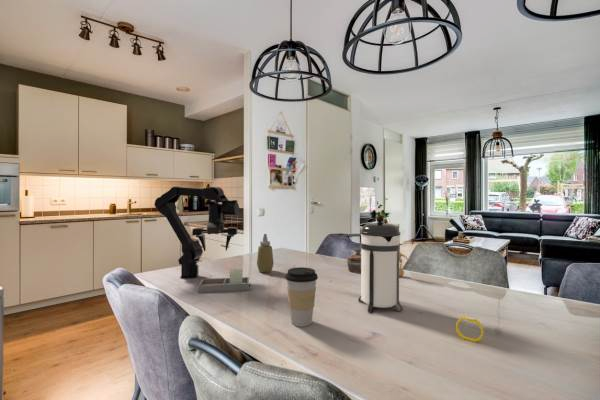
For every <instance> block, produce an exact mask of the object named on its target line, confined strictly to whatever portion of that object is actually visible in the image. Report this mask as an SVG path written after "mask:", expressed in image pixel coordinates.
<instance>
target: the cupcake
mask: <svg viewBox="0 0 600 400" xmlns="http://www.w3.org/2000/svg"><path fill="white" fill-rule="evenodd" d="M346 263H347V269H348V271H349V272H350V273H354V274H361V249H356V250H355V249H353V250H351V253H350V254H349V256H348V258H347V260H346Z"/></svg>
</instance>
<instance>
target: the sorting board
mask: <svg viewBox="0 0 600 400" xmlns="http://www.w3.org/2000/svg"><path fill="white" fill-rule="evenodd" d="M249 279H250V277H249V276H248V277H247V276H246V277H244V276H242V284H230V277H222V278H220V277H219V278H218V277H217V278H202V279H201V281H200V282H199V284H198V286H197V292H198V293H199V294H200V293H217V292H218V293H222V292H238V291H239V292H241V291H242V292H243V291H249V284H250V281H249Z"/></svg>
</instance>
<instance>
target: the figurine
mask: <svg viewBox="0 0 600 400" xmlns="http://www.w3.org/2000/svg"><path fill="white" fill-rule="evenodd" d="M402 257H404V258H405V259H406V260H407V263H410V260H409V258H408V257H407V256H406V255H405V254H402V253H401V251H400V250H399V278H400V277H403V276H404V275H405V271H404V269H403V268H402V265H403V259H402Z"/></svg>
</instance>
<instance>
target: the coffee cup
mask: <svg viewBox="0 0 600 400" xmlns="http://www.w3.org/2000/svg"><path fill="white" fill-rule="evenodd" d="M284 278H285V280H286V281H287V296H288V306H289V312H290V313H289V314H290V321H291V324H292V325H293V326H295V327H300V328H301V327H302V328H303V327H308V326H310V325H312V323H313V322H312V321H313V314H314V313H313V312H314V308H315V299H316V288H317V287H316V285H317V282H316V281H317V280H318V279H319V278H318V274H317V273H316V270H315V269H314V268H310V267H292V268H289V269H288V270H287V273H285V276H284Z"/></svg>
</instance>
